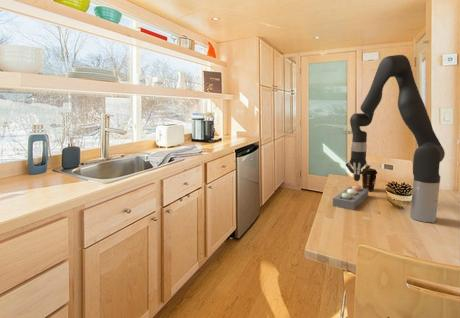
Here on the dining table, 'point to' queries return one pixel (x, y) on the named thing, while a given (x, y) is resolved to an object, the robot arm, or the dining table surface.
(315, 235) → the dining table surface
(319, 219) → the dining table surface
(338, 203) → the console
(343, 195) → the sage button
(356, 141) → the robot arm
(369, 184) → the coffee cup
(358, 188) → the terracotta button
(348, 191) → the offwhite button
